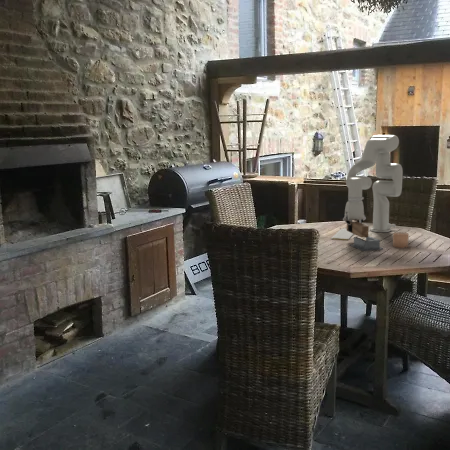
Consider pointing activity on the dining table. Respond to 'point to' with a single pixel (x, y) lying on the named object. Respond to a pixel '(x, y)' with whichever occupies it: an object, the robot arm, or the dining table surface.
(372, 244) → the bracket
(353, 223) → the rail
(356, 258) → the dining table surface
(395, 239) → the brown round cylinder
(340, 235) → the baseboard molding
